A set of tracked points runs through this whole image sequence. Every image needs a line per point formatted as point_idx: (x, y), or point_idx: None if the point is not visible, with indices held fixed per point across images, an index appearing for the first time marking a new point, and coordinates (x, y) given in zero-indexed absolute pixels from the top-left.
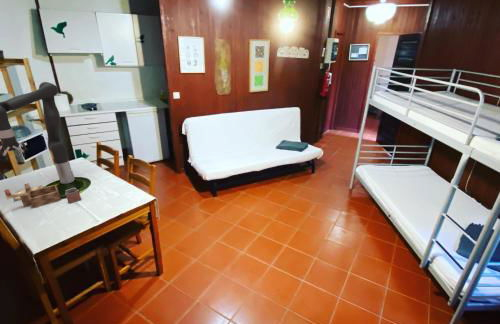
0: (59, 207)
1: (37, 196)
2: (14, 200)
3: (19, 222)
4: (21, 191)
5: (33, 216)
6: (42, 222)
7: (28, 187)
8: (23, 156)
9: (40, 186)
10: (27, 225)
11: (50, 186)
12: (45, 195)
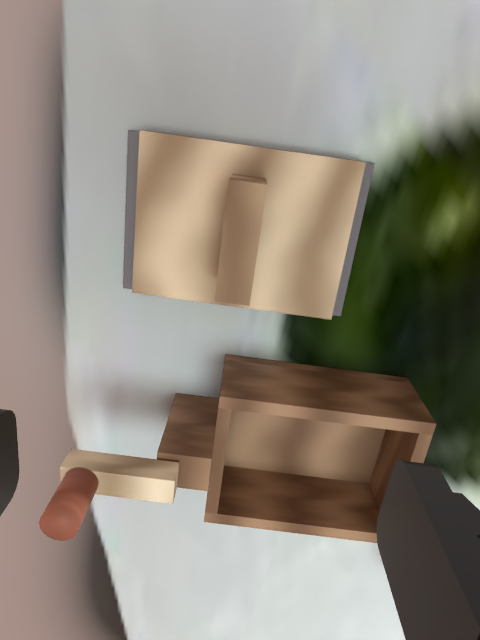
0: (332, 555)
1: (260, 519)
2: (129, 277)
3: (132, 555)
4: (191, 171)
5: (198, 548)
6: (222, 621)
7: (244, 298)
8: (391, 561)
9: (345, 187)
10: (161, 601)
11: (389, 428)
12: (307, 530)
